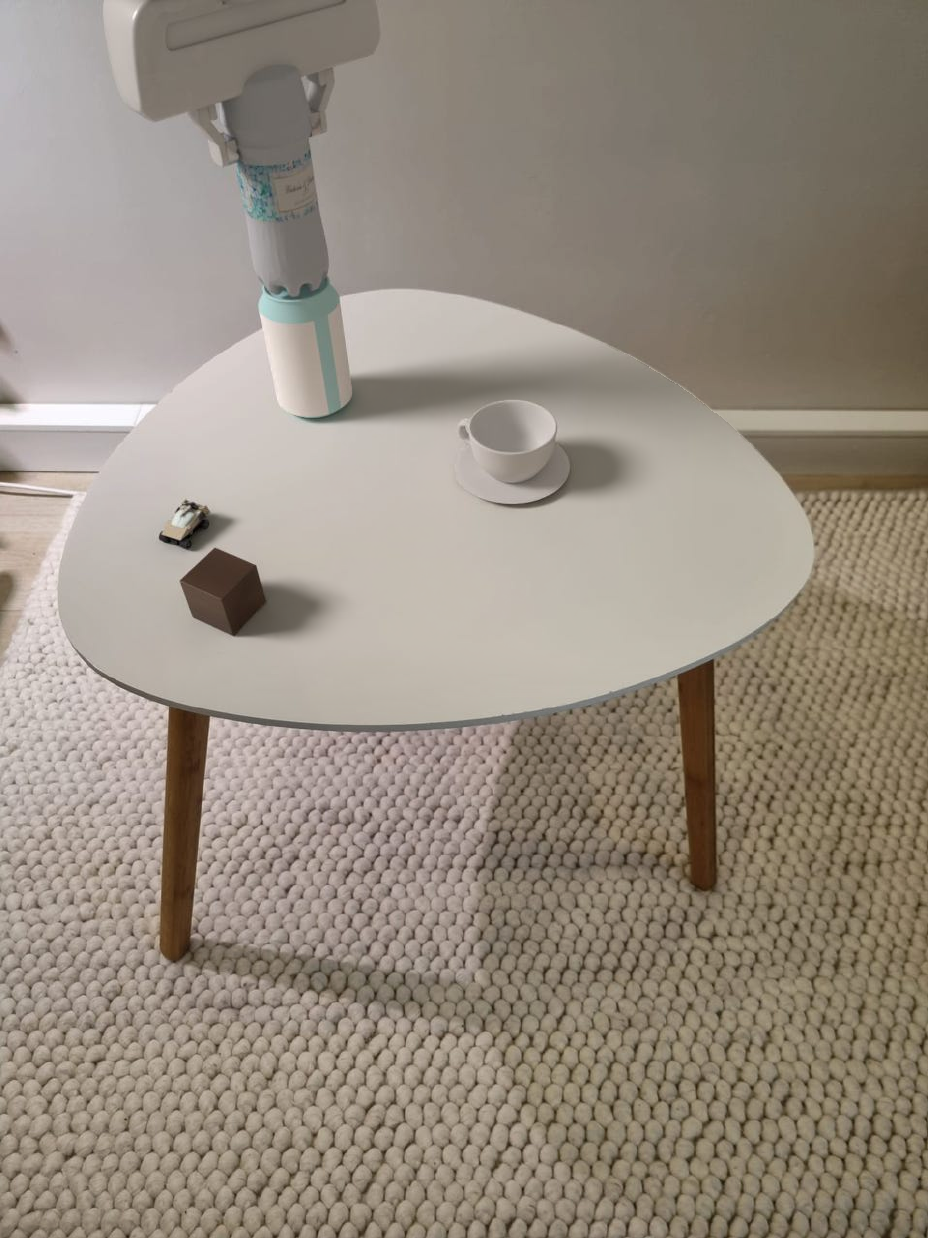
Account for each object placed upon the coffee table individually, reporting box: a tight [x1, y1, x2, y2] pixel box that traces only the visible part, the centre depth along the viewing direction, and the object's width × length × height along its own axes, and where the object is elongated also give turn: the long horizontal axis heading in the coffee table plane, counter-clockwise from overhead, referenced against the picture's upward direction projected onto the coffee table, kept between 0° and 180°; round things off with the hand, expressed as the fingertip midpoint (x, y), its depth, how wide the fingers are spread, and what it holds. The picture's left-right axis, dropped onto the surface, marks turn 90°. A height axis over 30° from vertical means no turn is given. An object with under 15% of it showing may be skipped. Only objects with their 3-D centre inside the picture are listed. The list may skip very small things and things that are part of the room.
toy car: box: [158, 498, 211, 550], centre depth 78 cm, size 3×4×2 cm, turn 156°
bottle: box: [218, 65, 330, 297], centre depth 74 cm, size 7×7×20 cm
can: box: [257, 275, 353, 419], centre depth 86 cm, size 7×7×12 cm
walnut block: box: [179, 547, 267, 637], centre depth 71 cm, size 4×4×4 cm
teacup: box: [453, 399, 571, 505], centre depth 81 cm, size 10×10×5 cm
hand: (270, 147), depth 73 cm, fingers closed on bottle, 6 cm apart
